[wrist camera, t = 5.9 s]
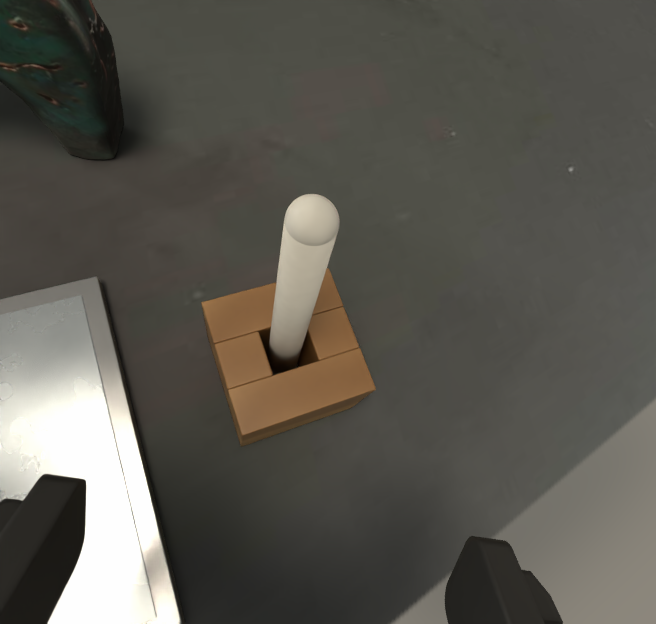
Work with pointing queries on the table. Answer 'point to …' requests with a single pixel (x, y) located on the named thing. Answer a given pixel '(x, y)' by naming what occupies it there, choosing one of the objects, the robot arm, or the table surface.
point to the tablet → (83, 451)
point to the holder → (291, 386)
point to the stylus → (300, 275)
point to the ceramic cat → (64, 71)
